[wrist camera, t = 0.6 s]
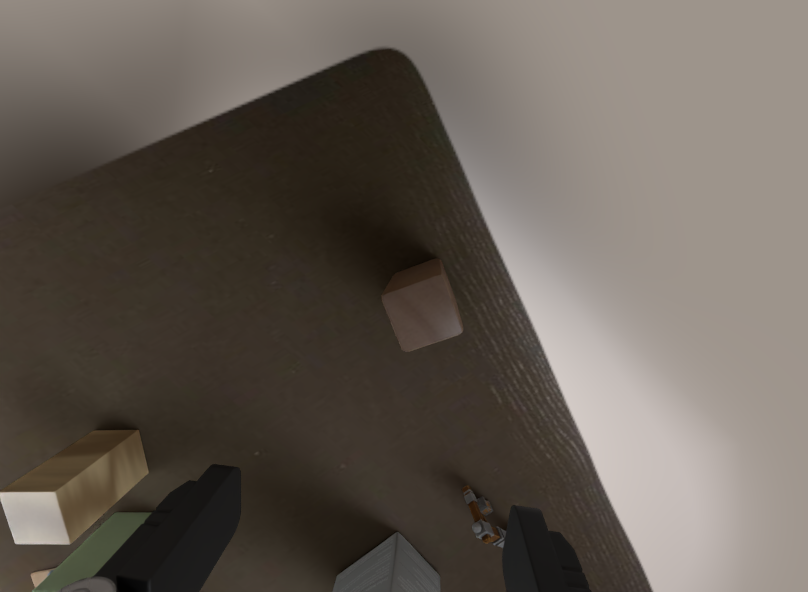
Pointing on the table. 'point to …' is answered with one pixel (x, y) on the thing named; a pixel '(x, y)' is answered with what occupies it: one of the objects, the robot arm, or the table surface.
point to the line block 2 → (94, 551)
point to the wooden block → (422, 306)
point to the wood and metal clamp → (483, 519)
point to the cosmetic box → (389, 570)
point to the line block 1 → (74, 487)
